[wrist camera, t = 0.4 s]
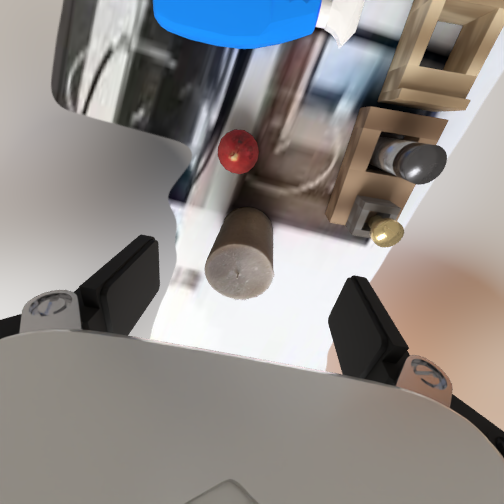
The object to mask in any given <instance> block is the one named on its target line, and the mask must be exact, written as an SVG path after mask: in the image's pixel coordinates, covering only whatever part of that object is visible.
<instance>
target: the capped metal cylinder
mask: <svg viewBox="0 0 504 504" xmlns="http://www.w3.org/2000/svg"><path fill="white" fill-rule="evenodd" d="M446 161H447V155H446V152H445V150H444V149H443V148H442V147H440V146H437V145H432V144H425V143H419V142H412V141H406V140H399V139H393V138H386V137H381V138H378V141H377V143H376V146H375V149H374V151H373V154H372V156H371V159H370V161H369V163H370V164H371V165H373V166H376V167H378V168H380V169H382V170H384V171H387V172H389V173H391V174H393V175H395V176H398V177H400V178H402V179H404V180H407V181H409V182H411V183H413V184H425V183H428V182H430V181H432V180H434V179H435V178H436V177H438V176H439V175H440V173H441V172H442V171H443V169H444V167H445V165H446Z"/></svg>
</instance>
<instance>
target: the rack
mask: <svg viewBox="0 0 504 504" xmlns="http://www.w3.org/2000/svg"><path fill="white" fill-rule="evenodd" d="M437 21H441V22H447V23H452V24H458V25H463V27H462V29H461V32H460V34H459V36H458V38H457V40H456V42H455V45H454V47H453V49H452V51H451V53H450V56H449V58H448V60H447V62H446V64H445V67H444V69H443V70H438V69H432V68H427V67H421V66H419V65H420V62H421V60H422V57H423V55H424V52H425V50H426V48H427V45H428V43H429V40H430V38H431V35H432V33H433V31H434V28H435V26H436V23H437ZM503 26H504V0H414V2H413V4H412V7H411V10H410V13H409V16H408V18H407V21H406V24H405V27H404V29H403V32H402V35H401V38H400V40H399V43H398V46H397V49H396V52H395V54H394V57H393V60H392V63H391V65H390V68H389V71H388V74H387V76H386V79H385V82H384V85H383V88H382V90H381V93H380V96H379V99H378V101H377V102H381V103H387V104H392V105H398V106H404V107H409V108H415V109H421V110H426V111H432V112H439V111H460V110H466V108H467V106H468V104H469V102H470V100H468V99H465V98H466V96H467V95H468V93H469V91H470V89H471V87H472V85H473V83H474V81H475V79H476V77H477V75H478V74H479V72H480V70H481V68H482V66H483V64H484V62H485V60H486V58H487V56H488V55H489V53H490V51H491V49H492V47H493V45H494V43H495V41H496V39H497V37H498V35H499V34H500V32H501V30H502V28H503Z"/></svg>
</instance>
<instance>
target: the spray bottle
mask: <svg viewBox="0 0 504 504" xmlns="http://www.w3.org/2000/svg"><path fill="white" fill-rule="evenodd" d="M364 2H365V0H332V1H330V0H153V10H154V16H155V18H156V20H157V21H158V23H159V24H160V26H161V27H163V28H164V29H166V30H167V31H169V32H172V33H174V34H177V35H179V36H182V37H185V38H187V39H190V40H194V41H199V42H203V43H207V44H211V45H215V46H222V47H230V48H237V49H255V48H260V47H266V46H271V45H277V44H281V43H285V42H288V41H292V40H296V39H299V38H301V37H304V36H307V35H310V34H312V33H313V32H314V29H315V27H319V28H324V29H325V30H326V31H327V32H329V33H331V34H332V35H333V37H334V38H335V39H336V42H337V45H338V48H341V47H342V46H343V45H344V43H345V42H346V41H347V40H348V39H349V38H350V37H351V36H352V35H353V34H354V33H355V31H356V28H357V25H358V22H359V19H360V15H361V12H362V9H363V6H364Z"/></svg>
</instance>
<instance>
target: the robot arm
mask: <svg viewBox="0 0 504 504" xmlns="http://www.w3.org/2000/svg"><path fill="white" fill-rule="evenodd" d="M159 286H160V280H159V252H158V241H156V240H155V238H154V237H151V236H146V235H140V236H138V237H137V238H136V239H135V240H134V241H132V242H131V243H130V244H129V245H128V246H127V247H125V248H124V249H123V250H122V251H121V252H119V253H118V254H117V255H116V256H115V257H114V258H112V259H111V260H110V261H109V262H108V263H106V264H105V265H104V266H103V267H102V268H101V269H99V270H98V271H97V272H96V273H95V274H93V275H92V276H91V277H90V278H89V279H88V280H86V281H85V282H84V283H83V284H82V285H80V286H79V288H78V289H77V290H76V291H75V292H71V291H67V290H55V291H50V292H46V293H43V294H41V295H38V296H36V297H34V298H33V299H31V300H30V301H28V302H27V303H26V305H25V306H24V308H23V310H22V314H20V315H16V316H13V317H9V318H6V319H2V320H0V504H504V432H503V431H502V430H501V429H499V428H498V427H497V426H495V425H494V424H493V423H491V422H490V421H488V420H487V419H486V418H484V417H483V416H482V415H480V414H479V413H477V412H476V411H475V410H473V409H472V408H471V407H469V406H468V405H466V404H465V403H464V402H463V401H461V400H460V399H458V398H457V397H456V396H454V395H453V394H452V390H453V389H452V383H451V381H450V379H449V378H448V376H447V375H446V374H445V373H444V372H443V370H441V369H440V368H439V367H438V366H437V365H436V364H434V363H433V362H431V361H430V360H428V359H426V358H424V357H421V356H417V355H411V356H410V355H409V353H408V351H407V350H408V349H409V347H408V345H407V344H406V342H405V341H404V339H403V337H402V336H401V334H400V332H399V331H398V329H397V327H396V326H395V324H394V323H393V321H392V319H391V318H390V316H389V315H388V313H387V311H386V310H385V308H384V306H383V305H382V303H381V301H380V300H379V298H378V296H377V295H376V293H375V292H374V290H373V288H372V287H371V285H370V283H369V282H368V280H367V279H366V278H365V277H359V276H352V277H351V278H348V279H347V280H346V282H345V284H344V286H343V288H342V291H341V293H340V295H339V297H338V299H337V301H336V303H335V305H334V307H333V309H332V311H331V313H330V315H329V318H328V324H329V328H330V331H331V335H332V338H333V342H334V345H335V349H336V352H337V356H338V359H339V363H340V367H341V370H342V373H343V375H341V374H337V373H331V372H326V371H321V370H316V369H310V368H305V367H300V366H294V365H289V364H284V363H278V362H273V361H267V360H262V359H257V358H251V357H246V356H240V355H235V354H229V353H224V352H218V351H213V350H207V349H202V348H196V347H190V346H185V345H179V344H173V343H168V342H162V341H156V340H151V339H144V338H138V337H132V336H128V335H129V333H130V332H131V330H132V329H133V327H134V326H135V324H136V323H137V321H138V320H139V318H140V317H141V315H142V314H143V313H144V311H145V310H146V308H147V307H148V305H149V304H150V302H151V301H152V299H153V298H154V296H155V295H156V293H157V292H158V290H159Z"/></svg>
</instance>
